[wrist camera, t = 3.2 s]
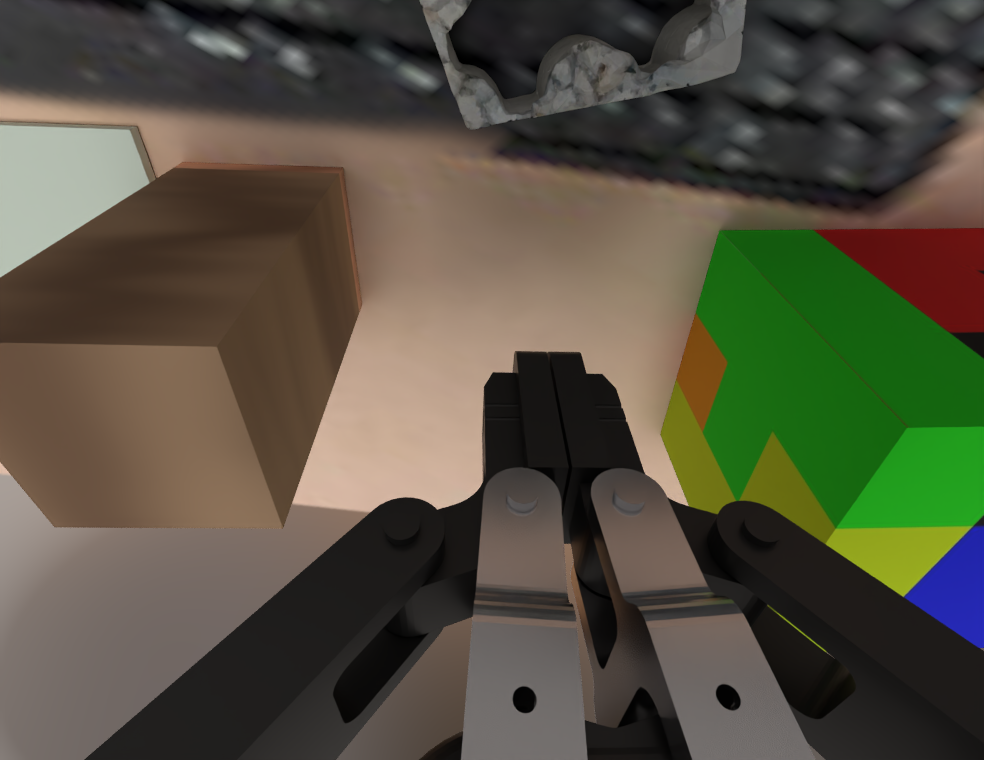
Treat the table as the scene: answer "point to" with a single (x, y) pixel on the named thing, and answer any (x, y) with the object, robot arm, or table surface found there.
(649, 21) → the table surface
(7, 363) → the walnut block
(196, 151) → the table surface
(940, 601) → the puzzle toy
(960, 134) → the table surface
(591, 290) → the table surface
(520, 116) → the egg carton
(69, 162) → the sage pad
